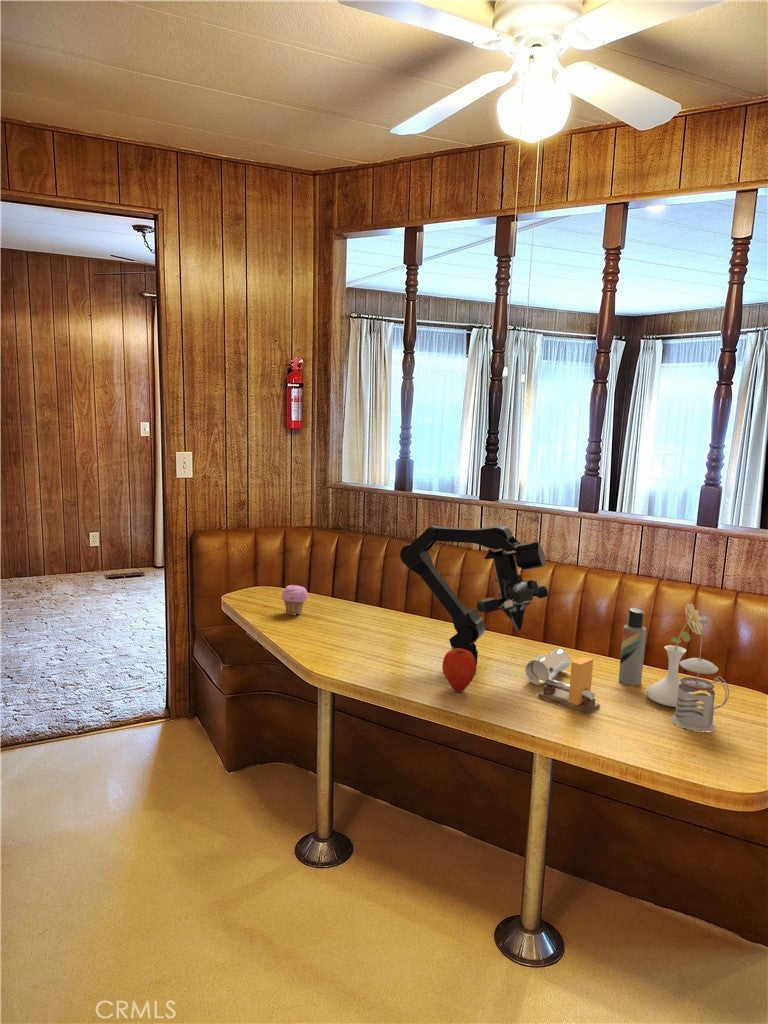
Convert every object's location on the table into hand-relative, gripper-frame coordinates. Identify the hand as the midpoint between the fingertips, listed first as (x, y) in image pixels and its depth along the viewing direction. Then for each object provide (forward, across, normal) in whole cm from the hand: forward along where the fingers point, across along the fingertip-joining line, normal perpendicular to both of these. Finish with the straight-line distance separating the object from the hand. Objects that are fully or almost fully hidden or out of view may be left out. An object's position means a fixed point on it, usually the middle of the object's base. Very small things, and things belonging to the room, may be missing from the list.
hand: (519, 630), depth 182 cm
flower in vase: (+23, +27, -20) cm, 41 cm away
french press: (+25, +23, -32) cm, 47 cm away
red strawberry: (+9, -22, -5) cm, 24 cm away
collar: (+16, +3, -19) cm, 25 cm away
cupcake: (-10, -49, +68) cm, 84 cm away
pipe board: (+16, +1, -16) cm, 23 cm away
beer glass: (+12, +12, +4) cm, 17 cm away
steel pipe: (+14, +2, -16) cm, 22 cm away
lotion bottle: (+20, +25, -6) cm, 33 cm away
